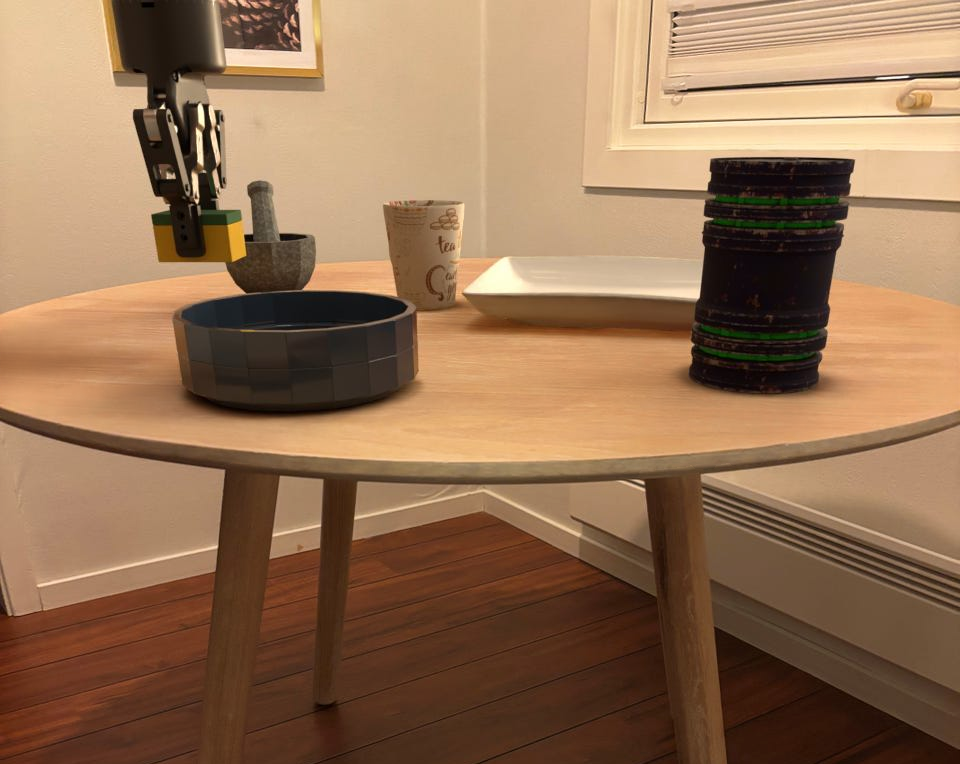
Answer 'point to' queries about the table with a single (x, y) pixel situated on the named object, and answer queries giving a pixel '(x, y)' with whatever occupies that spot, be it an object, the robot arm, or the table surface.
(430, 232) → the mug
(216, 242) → the sponge
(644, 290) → the square plate
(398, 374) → the bowl
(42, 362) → the table surface
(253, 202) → the mortar and pestle
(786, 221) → the storage jar
